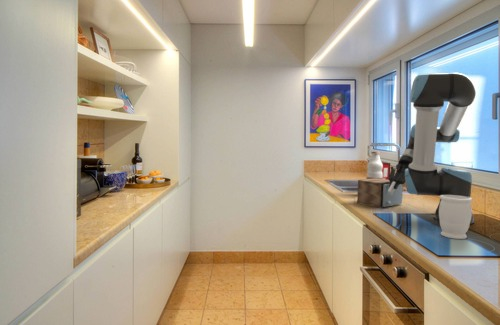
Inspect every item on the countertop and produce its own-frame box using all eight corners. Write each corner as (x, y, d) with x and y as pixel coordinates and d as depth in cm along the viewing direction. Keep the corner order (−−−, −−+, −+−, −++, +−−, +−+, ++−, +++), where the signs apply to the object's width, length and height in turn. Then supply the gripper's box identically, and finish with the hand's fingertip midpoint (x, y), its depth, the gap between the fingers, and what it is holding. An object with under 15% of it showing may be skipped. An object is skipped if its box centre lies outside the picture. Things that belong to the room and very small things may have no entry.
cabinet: (397, 204, 186) (398, 180, 185) (380, 207, 176) (381, 183, 175) (374, 200, 197) (375, 178, 196) (357, 203, 187) (358, 180, 186)
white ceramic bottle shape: (365, 196, 208) (367, 151, 206) (366, 194, 216) (368, 151, 214) (381, 198, 204) (383, 152, 202) (382, 195, 213) (384, 151, 210)
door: (405, 203, 184) (406, 182, 183) (387, 207, 173) (388, 185, 172) (400, 202, 186) (401, 182, 185) (382, 206, 175) (383, 184, 174)
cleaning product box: (367, 189, 238) (368, 161, 237) (379, 189, 238) (381, 161, 237) (375, 193, 222) (376, 163, 220) (388, 193, 222) (390, 163, 220)
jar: (458, 232, 132) (460, 194, 130) (476, 240, 121) (479, 199, 120) (431, 232, 131) (433, 194, 130) (448, 240, 121) (450, 199, 120)
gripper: (422, 165, 176) (404, 199, 168) (399, 163, 187) (380, 195, 178) (418, 155, 173) (399, 189, 164) (394, 154, 183) (375, 186, 174)
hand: (389, 192), depth 171 cm, fingers closed
